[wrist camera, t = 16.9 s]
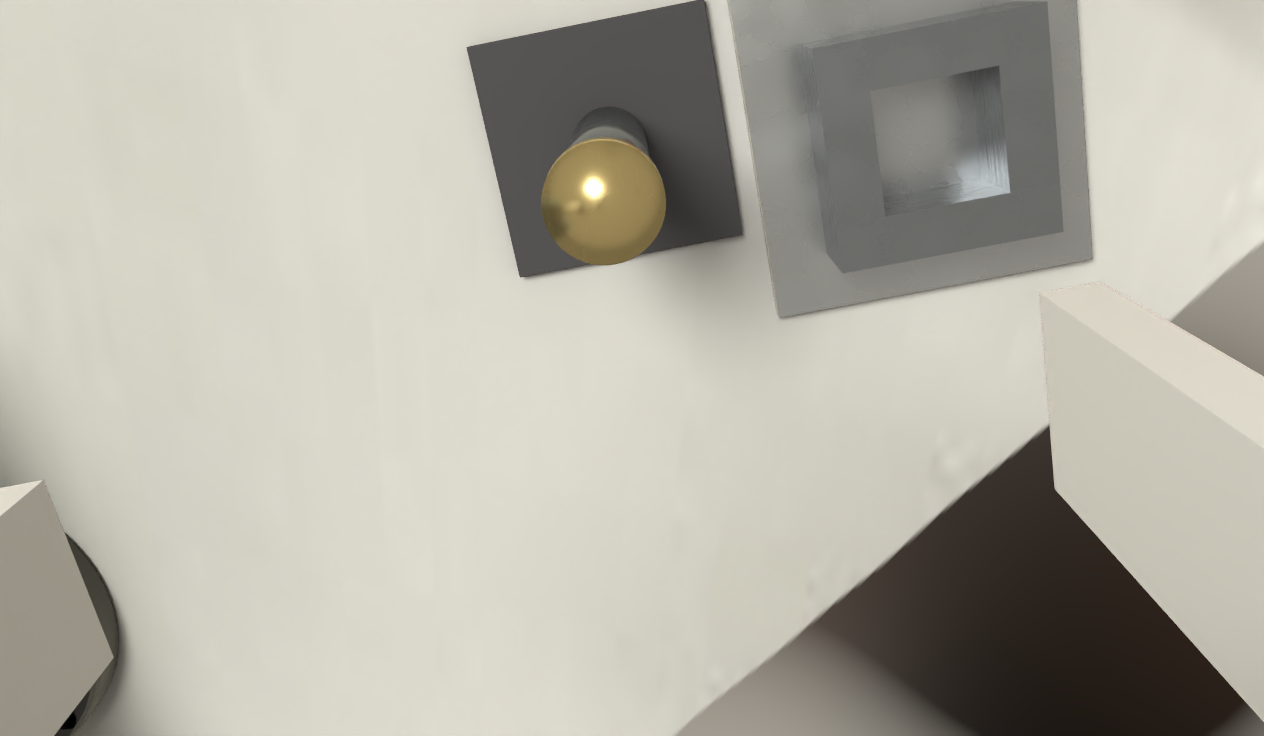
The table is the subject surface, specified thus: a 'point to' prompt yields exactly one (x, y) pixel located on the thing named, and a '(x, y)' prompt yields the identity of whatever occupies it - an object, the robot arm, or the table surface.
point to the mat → (609, 77)
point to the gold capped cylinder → (604, 191)
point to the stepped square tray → (912, 142)
